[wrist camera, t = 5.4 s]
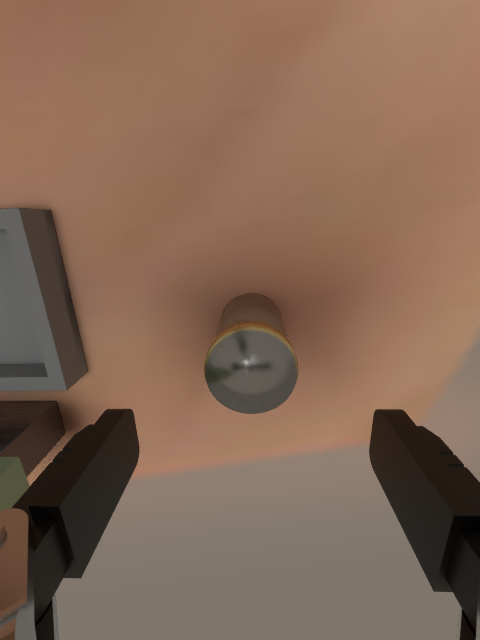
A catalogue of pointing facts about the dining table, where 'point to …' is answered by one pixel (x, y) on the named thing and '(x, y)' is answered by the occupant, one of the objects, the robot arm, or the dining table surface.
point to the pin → (251, 357)
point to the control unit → (25, 443)
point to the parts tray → (35, 307)
